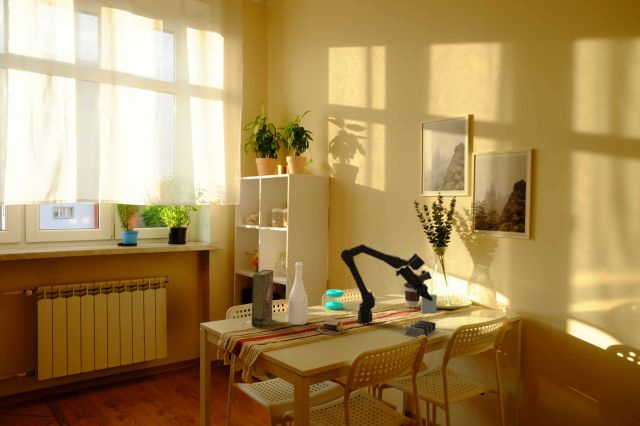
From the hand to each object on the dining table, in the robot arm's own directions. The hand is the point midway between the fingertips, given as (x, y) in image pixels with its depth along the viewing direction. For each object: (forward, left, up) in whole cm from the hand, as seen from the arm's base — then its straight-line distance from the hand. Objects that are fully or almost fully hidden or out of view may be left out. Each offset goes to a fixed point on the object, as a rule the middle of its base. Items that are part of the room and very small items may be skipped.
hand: (431, 299), depth 253 cm
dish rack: (-12, -9, -13) cm, 20 cm away
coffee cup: (+16, +40, -13) cm, 46 cm away
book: (-78, +31, -13) cm, 85 cm away
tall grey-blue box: (-1, +1, -7) cm, 7 cm away
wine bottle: (-61, +25, -13) cm, 68 cm away
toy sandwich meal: (-52, +7, -14) cm, 54 cm away
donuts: (-29, +50, -13) cm, 60 cm away
